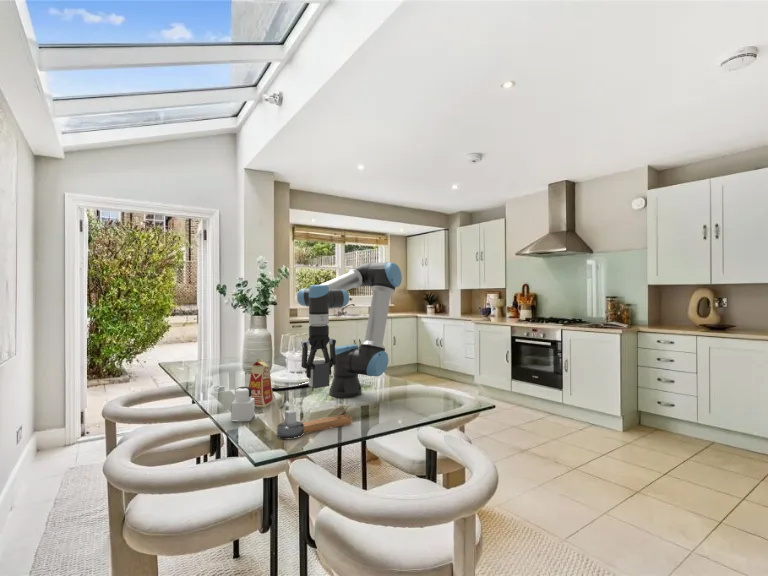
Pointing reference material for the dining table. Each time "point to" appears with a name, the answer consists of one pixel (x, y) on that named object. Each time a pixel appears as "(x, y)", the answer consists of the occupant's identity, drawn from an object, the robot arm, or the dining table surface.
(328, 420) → the hammer
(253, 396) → the milk carton
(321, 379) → the dark grey block
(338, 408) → the dining table surface
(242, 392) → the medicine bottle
